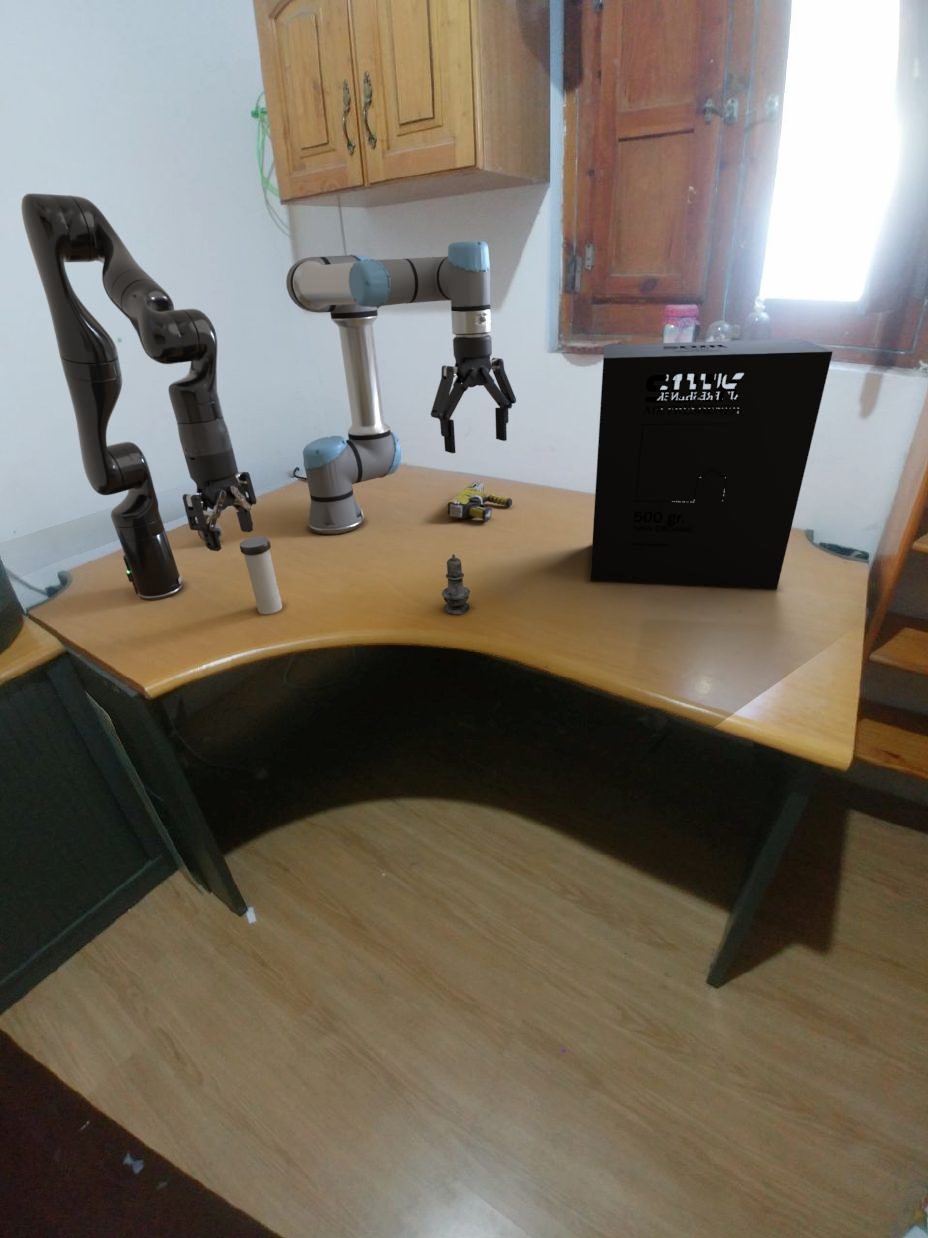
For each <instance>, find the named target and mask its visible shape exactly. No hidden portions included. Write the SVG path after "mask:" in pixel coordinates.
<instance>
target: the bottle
mask: <svg viewBox="0 0 928 1238" xmlns="http://www.w3.org/2000/svg"><path fill="white" fill-rule="evenodd" d="M271 555H272V554H271V551H270V549H269V550H268V551H266V552H264V553H261V554H257V555H245V554H243V556H244V561H245V563H246V568H247V571H248V576H249V580H250V584H251V588H252V591H253V595H254V600H255V604H256V607H257V611H258V613H259V614H260V615H272V614H275V613H278V612H280V611H281V610H282V609H283V603H282V599H281V594H280V591H279V587H278V581H277V577H276V572H275V570H274V564H273V559H272V556H271Z"/></svg>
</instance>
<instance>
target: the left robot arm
mask: <svg viewBox="0 0 928 1238" xmlns="http://www.w3.org/2000/svg"><path fill="white" fill-rule="evenodd" d="M21 217H22V221H23V226H24V230H25V234H26V237H27V241H28V244H29V247H30V250H31V253H32V256H33V259H34V263H35V266H36V269H37V271H38V275H39V278H40V281H41V284H42V287H43V291H44V294H45V297H46V301H47V305H48V309H49V313H50V317H51V321H52V327H53V330H54V334H55V340H56V344H57V349H58V354H59V358H60V362H61V366H62V371H63V374H64V377H65V381H66V385H67V388H68V391H69V392H68V393H69V395H70V399H71V404H72V408H73V412H74V417H75V421H76V429H77V433H78V434H77V435H78V441H79V449H80V455H81V461H82V466H83V470H84V473H85V476H86V478H87V481H88V483H89V485H90V486H91V488H92V489H93V490H94V492H96V493H97V494H98V495H101V496H111V495H116V494H120V493H123V492H127V494H126V495H125V497H124V499H123V500H122V501H121V502H120V503H118V504H117V505H116V506H114V508H112V510H111V511H110V518H111V521H112V523H113V526H114V530H115V532H116V534H117V537H118V540H119V543H120V545H121V549H122V551H123V556H122V558H123V561H124V564H125V568H126V570H127V571H126V572H125V574H126V576H127V579H128V582H129V583H132V587H133V589H134V591H135V594H136V595H138V596H139V598H140V599H142V600H145V601H157V600H162V599H166V598H168V597H172V596H174V595H176V594H178V593H179V592H180V591H182V590H183V588H184V583H183V581H182V580H183V577H182V574H181V573H179V569H178V566H177V564H176V563H177V562H176V560H175V557H174V553H173V551H172V547H171V544H170V541H169V538H168V535H167V532H166V528H165V526H164V522H163V520H162V516H161V513H160V511H159V500H158V497H157V493H156V489H155V486H154V482H153V477H152V474H151V470H150V466H149V463H148V461H147V458H146V456H145V454H144V452H143V451H142V449H141V448H140V447H139V446H138V445H137V444H136V443H134V442H132V441H123V442H118V443H113V444H109V445H108V444H107V431H108V425H109V421H110V419H111V417H112V414H113V412H114V410H115V408H116V405H117V403H118V401H119V398H120V395H121V393H122V388H123V375H122V369H121V364H120V363H121V362H120V358H119V352H118V349H117V346H116V343H115V341H114V340H113V338H112V337H111V335H110V334H109V332H107V330H106V329H105V328H104V326H103V325H102V324H101V323H100V322H99V320H98V319H97V318H96V317H95V316H94V315H93V314H92V313H91V312H90V311H89V309H88V308H87V307H86V306H85V305H84V304H83V301H81V299H80V298H79V297H78V295H77V294H76V292H75V290H74V288H73V286H72V283H71V281H70V279H69V276H68V273H67V269H66V265H65V263H93V262H99V263H101V264H102V271H101V282H102V286H103V289H104V292H105V294H106V295H107V297H108V298H109V300H110V302H111V303H112V304H113V305H114V306H115V307H116V309H118V310H119V311H120V312H121V313H122V314H123V315H124V317H126V319H128V320H129V322H130V324H131V326H132V327H133V329H134V330H135V333H136V335H137V337H138V339H139V342H140V344H141V347H142V349H143V351H144V353H145V354H146V356H147V357H148V358H150V359H151V360H153V361H154V362H156V363H159V364H162V365H175V364H182V363H188V362H189V363H190V365H189V370H188V373H187V374H186V375H184V376H183V377H182V378H179V379H177V380H175V381H173V382H171V383H170V384H169V386H168V388H167V390H168V396H169V400H170V403H171V407H172V411H173V414H174V418H175V421H176V425H177V430H178V431H177V432H178V437H179V442H180V445H181V449H182V452H183V456H184V459H185V462H186V466H187V471H188V474H189V477H190V479H191V480H192V481H193V482H194V483H195V486H196V491H195V492H193V493H184V494H183V495H182V501H183V507H184V509H185V513H186V518H187V522H188V526H189V527H188V528H189V529H190V530H191V531H197V532H198V531H202V532H203V536H204V539H205V541H204V542H205V546H206V547H207V549H209V550H210V551H212V552H213V551H214V552H220V551H221V550H222V544H221V541H220V539H219V536H218V533H217V529H215V526H216V522H217V521H218V519H219V518H220V517H221V514H222V511H224V510H226V509H227V508H228V507H233V508H234V509H235V510H236V516H237V520H238V523H239V527H240V531H241V532H242V533H251V532H253V531H254V523H253V518H252V515H251V511H252V506H254V505H256V504H257V502H258V501H257V497H256V493H255V490H254V486H253V482H252V479H251V475H250V473H249V472H248V471H239V469H238V465H237V460H236V457H235V456H236V455H235V452H234V448H233V444H232V439H231V435H230V432H229V428H228V425H227V422H226V420H225V417H224V413H223V410H222V405H221V401H220V397H219V392H218V366H217V365H218V337H217V332H216V329H215V326H214V325H213V323H212V321H211V320H210V318H209V317H208V315H206V314H205V312H203V311H202V310H200V309H197V308H182V309H175V305H174V302H173V300H172V298H171V297H170V295H169V294H168V292H167V291H166V290H165V289H164V288H163V287H162V286H161V285H160V284H159V283H158V282H157V281H156V280H154V278H152V276H151V275H149V274H148V272H146V271H145V269H144V268H142V266H141V265H139V263H138V262H137V261H136V260H135V258H134V257H133V255H132V254H131V252H130V251H129V249H128V247H127V246H126V245H125V244H124V242H123V240H122V239H121V237H120V236H119V235H118V233H117V232H116V230H115V229H114V227H113V226H112V224H111V223H110V221H108V219H107V217H106V216H105V215H104V214H103V212H102V210H100V208H98V207H97V205H96V204H94V203H93V202H92V201H91V200H89V199H88V198H85V197H83V196H79V195H66V194H52V193H38V192H37V193H36V192H35V193H34V192H33V193H26V194H25V195H24V196H23V197H22V199H21ZM208 509H209V510H208ZM207 520H209V523H207ZM217 523H218V522H217Z"/></svg>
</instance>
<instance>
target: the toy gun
mask: <svg viewBox="0 0 928 1238" xmlns="http://www.w3.org/2000/svg"><path fill="white" fill-rule="evenodd" d="M487 502H488V503H493V504H496V505H500V506H504V507H506V508H510V507H511V506H512V505H513V499H512V498H509V497H504V496H500V495H499V496H498V495H494V494H492V493H490V494H489V495H488V496H487V495H486V492H485V483H484V482H483V481H480V482H479V481H477V480H474V482H473V483H471V484H470V485H468V486H467V487H465V488H464V489H462V491H460V492H459V493H458V494H456V496H454V497H453V498H452V499H451V500H449V501H448V502H447V505H446V514H447V516H448V517H451V518H452V519H455V520H458V519H459V518H460V519H467V518H471V517H475V518H479V519H482V522H484V523H485V522H487V521H488V520H491V518H492V512H493V507H492V506H485V505H484V504H486V503H487Z"/></svg>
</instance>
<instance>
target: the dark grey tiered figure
mask: <svg viewBox="0 0 928 1238" xmlns="http://www.w3.org/2000/svg"><path fill="white" fill-rule="evenodd" d="M462 567H463V566H462V561H461V559H460V558H458V557H456V555H455V554H454V553H452V555H451V557H450V558H449V559H448V560H447V561H446V569H447V570H446V574H445V578H446V579H447V587H446V588H444V589H443V590H442V591H441V596H442V598H443V600H444V602H445V603H446V604H445V605H444V607H443V608H444V611H445V612H446V613H448V614H452V615H461V614H464V613H466V612H468V611H469V610H470V608H471V606H470V604H469V603H468V600H469V598H470V595H471V590H470V589H469V588H468V587H466V586H464V579H463V578H464V577H465V574H464V573H463V568H462Z"/></svg>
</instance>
